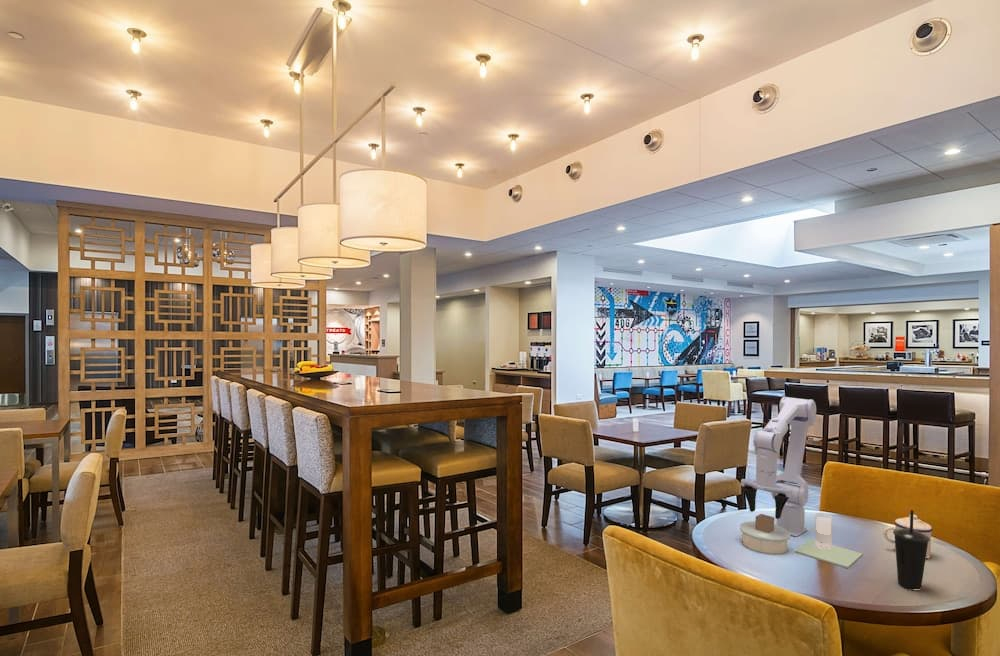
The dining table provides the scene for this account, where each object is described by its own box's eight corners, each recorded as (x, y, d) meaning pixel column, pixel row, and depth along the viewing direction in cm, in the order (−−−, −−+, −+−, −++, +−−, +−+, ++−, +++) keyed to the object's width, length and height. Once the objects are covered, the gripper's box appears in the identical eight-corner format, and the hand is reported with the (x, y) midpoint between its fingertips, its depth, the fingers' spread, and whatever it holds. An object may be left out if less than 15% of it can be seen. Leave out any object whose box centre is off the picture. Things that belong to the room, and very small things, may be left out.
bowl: (752, 534, 177) (753, 522, 177) (792, 546, 168) (793, 533, 168) (735, 544, 169) (735, 531, 169) (776, 557, 160) (777, 543, 160)
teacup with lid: (924, 550, 168) (925, 512, 167) (936, 562, 159) (937, 522, 159) (878, 544, 172) (879, 507, 172) (887, 555, 163) (889, 516, 163)
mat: (811, 540, 173) (811, 539, 173) (862, 555, 163) (862, 553, 163) (794, 552, 164) (794, 550, 164) (847, 568, 153) (847, 566, 153)
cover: (751, 520, 178) (752, 506, 178) (797, 533, 168) (798, 518, 168) (731, 531, 169) (732, 515, 169) (779, 545, 158) (779, 529, 158)
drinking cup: (930, 596, 138) (932, 517, 138) (892, 588, 142) (895, 511, 142) (926, 584, 145) (928, 509, 145) (890, 576, 149) (892, 503, 149)
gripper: (737, 467, 171) (735, 510, 171) (786, 478, 160) (784, 524, 160) (747, 464, 176) (745, 506, 176) (795, 474, 165) (793, 518, 165)
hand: (765, 514), depth 168 cm, fingers open, 7 cm apart
